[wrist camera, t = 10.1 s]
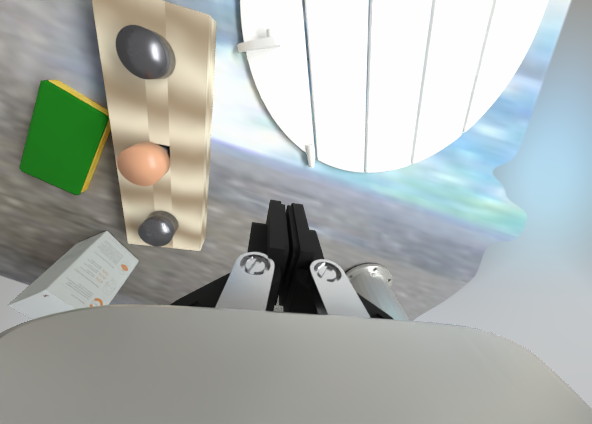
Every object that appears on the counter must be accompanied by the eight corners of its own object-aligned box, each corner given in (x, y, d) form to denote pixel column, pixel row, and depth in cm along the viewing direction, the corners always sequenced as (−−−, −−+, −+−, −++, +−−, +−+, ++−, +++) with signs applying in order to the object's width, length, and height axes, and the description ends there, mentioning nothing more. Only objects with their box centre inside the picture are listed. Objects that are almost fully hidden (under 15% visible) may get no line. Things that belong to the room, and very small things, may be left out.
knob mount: (205, 236, 43) (200, 250, 39) (139, 229, 40) (128, 243, 37) (216, 22, 28) (209, 15, 24) (112, -9, 25) (88, -22, 22)
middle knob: (180, 169, 33) (161, 189, 27) (146, 163, 32) (119, 182, 26) (180, 138, 31) (159, 152, 25) (144, 131, 30) (113, 144, 24)
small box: (77, 242, 40) (4, 305, 29) (107, 229, 40) (44, 288, 29) (112, 272, 44) (60, 337, 33) (140, 261, 44) (97, 324, 33)
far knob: (185, 223, 40) (172, 248, 34) (158, 219, 39) (139, 244, 33) (186, 201, 38) (171, 223, 32) (157, 197, 37) (136, 219, 31)
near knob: (186, 82, 30) (166, 84, 24) (148, 73, 29) (118, 72, 23) (186, 42, 28) (164, 32, 22) (146, 31, 27) (112, 18, 21)
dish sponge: (118, 114, 32) (107, 117, 30) (88, 189, 36) (77, 196, 34) (57, 78, 29) (40, 78, 27) (33, 164, 34) (18, 170, 32)
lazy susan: (267, 187, 39) (267, 196, 36) (179, -232, 19) (164, -288, 16) (492, 151, 40) (509, 157, 38) (629, -282, 20) (690, -342, 17)
